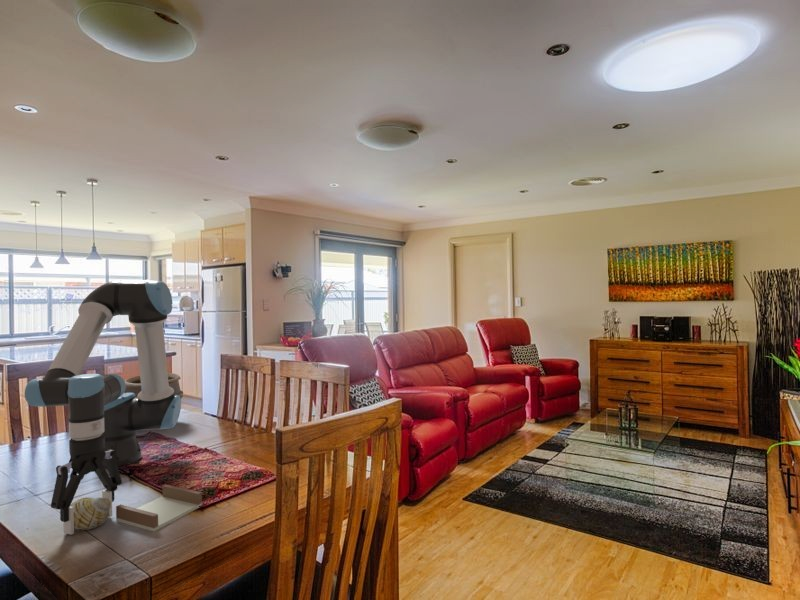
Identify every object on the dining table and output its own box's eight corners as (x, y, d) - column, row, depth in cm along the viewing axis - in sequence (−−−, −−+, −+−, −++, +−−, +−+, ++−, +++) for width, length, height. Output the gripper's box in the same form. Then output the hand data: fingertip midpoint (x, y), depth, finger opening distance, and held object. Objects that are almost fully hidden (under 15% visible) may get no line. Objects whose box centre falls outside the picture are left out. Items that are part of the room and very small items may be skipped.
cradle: (116, 520, 121) (116, 506, 121) (166, 497, 135) (165, 484, 135) (154, 531, 115) (153, 516, 115) (201, 505, 129) (201, 492, 129)
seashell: (71, 514, 123) (90, 479, 124) (106, 529, 124) (125, 494, 125) (48, 532, 113) (69, 493, 114) (86, 547, 114) (107, 509, 115)
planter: (195, 422, 214) (195, 374, 214) (148, 436, 193) (148, 383, 192) (157, 416, 225) (157, 371, 224) (109, 429, 203) (108, 379, 203)
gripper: (49, 451, 107) (51, 548, 107) (136, 426, 126) (138, 508, 127) (30, 447, 110) (32, 541, 110) (118, 423, 129) (119, 503, 130)
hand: (88, 523), depth 118 cm, fingers closed on seashell, 9 cm apart
